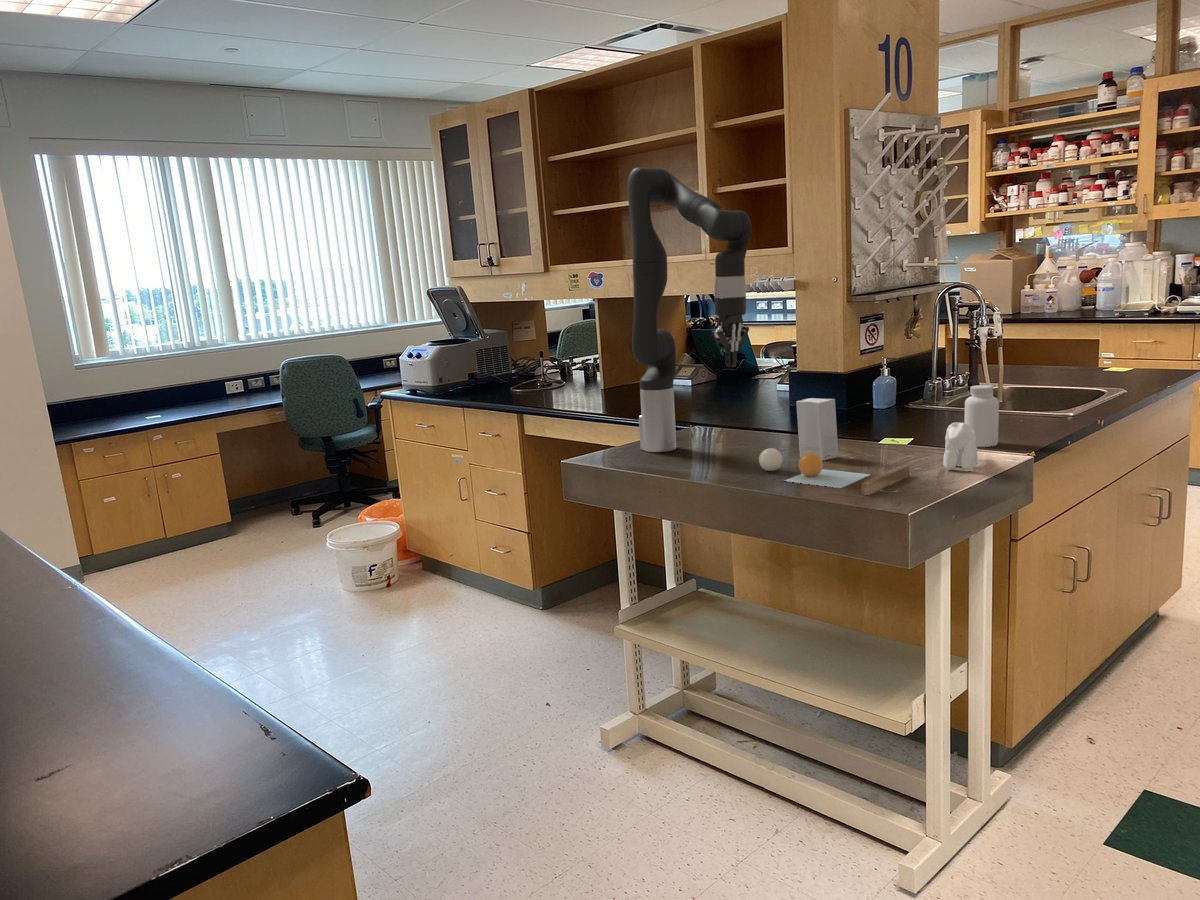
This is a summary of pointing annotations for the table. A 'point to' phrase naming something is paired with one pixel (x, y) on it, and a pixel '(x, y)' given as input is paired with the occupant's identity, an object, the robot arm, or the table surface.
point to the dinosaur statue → (960, 447)
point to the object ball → (810, 464)
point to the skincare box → (817, 427)
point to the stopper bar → (884, 480)
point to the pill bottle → (983, 415)
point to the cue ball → (770, 459)
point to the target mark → (829, 478)
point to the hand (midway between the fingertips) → (730, 366)
